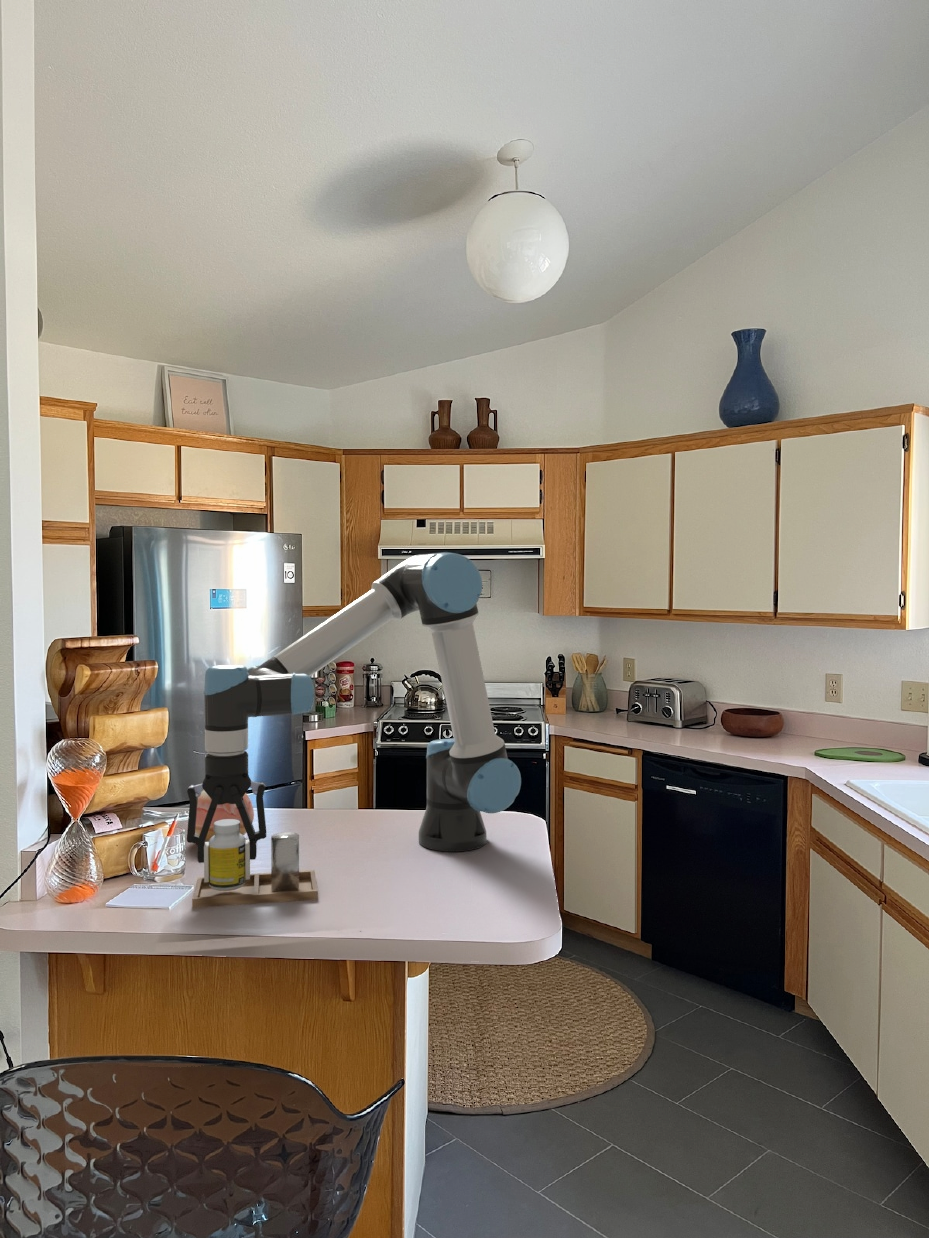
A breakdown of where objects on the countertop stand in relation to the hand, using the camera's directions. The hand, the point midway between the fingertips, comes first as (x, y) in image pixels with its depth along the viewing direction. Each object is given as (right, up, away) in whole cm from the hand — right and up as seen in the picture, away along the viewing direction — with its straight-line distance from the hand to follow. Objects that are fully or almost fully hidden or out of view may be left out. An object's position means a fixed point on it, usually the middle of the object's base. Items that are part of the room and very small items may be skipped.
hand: (227, 878), depth 160 cm
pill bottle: (0, -2, 0) cm, 2 cm away
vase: (-11, -3, +36) cm, 38 cm away
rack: (+5, -4, +1) cm, 7 cm away
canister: (+10, -3, +2) cm, 11 cm away
